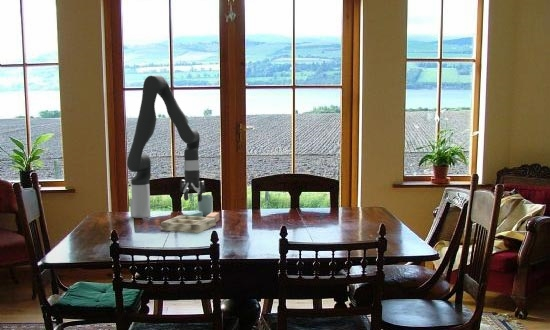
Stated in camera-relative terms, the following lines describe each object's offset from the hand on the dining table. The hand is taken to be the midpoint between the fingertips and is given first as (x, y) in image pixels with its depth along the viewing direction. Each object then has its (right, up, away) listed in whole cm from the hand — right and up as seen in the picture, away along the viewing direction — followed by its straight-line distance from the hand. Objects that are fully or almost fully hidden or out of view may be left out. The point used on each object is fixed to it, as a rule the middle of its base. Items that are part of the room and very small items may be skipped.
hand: (193, 200), depth 276 cm
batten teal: (0, -10, +1) cm, 10 cm away
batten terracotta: (+10, -11, -2) cm, 15 cm away
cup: (+4, -9, +16) cm, 18 cm away
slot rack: (0, -12, -15) cm, 19 cm away
